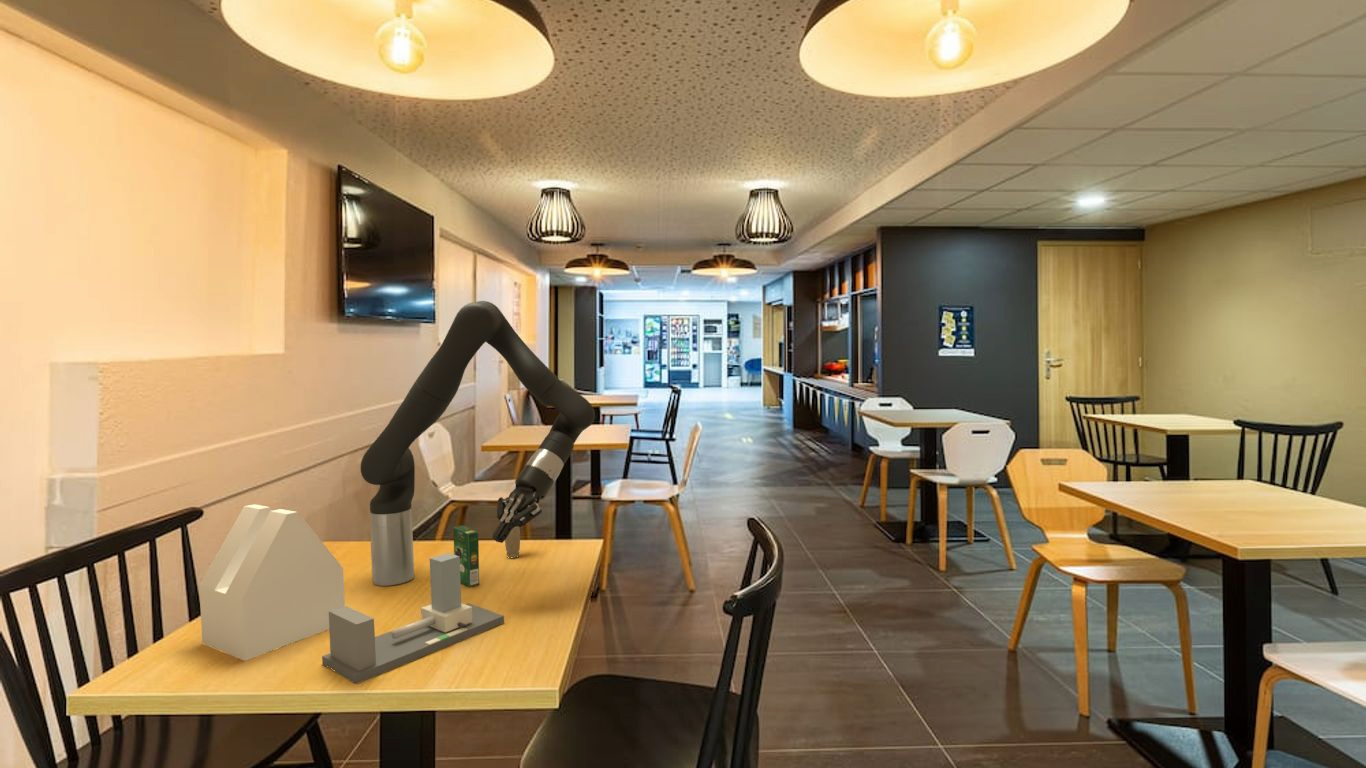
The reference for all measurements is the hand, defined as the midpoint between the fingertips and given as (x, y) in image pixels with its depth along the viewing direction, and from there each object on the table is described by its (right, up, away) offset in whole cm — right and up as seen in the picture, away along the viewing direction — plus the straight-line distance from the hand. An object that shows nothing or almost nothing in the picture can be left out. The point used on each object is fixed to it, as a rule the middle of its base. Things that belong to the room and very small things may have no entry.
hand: (497, 540), depth 139 cm
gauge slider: (-9, -14, -13) cm, 21 cm away
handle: (-6, -14, +38) cm, 41 cm away
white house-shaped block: (-42, -17, -8) cm, 46 cm away
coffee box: (-12, -15, +19) cm, 27 cm away
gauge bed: (-11, -16, -14) cm, 24 cm away
